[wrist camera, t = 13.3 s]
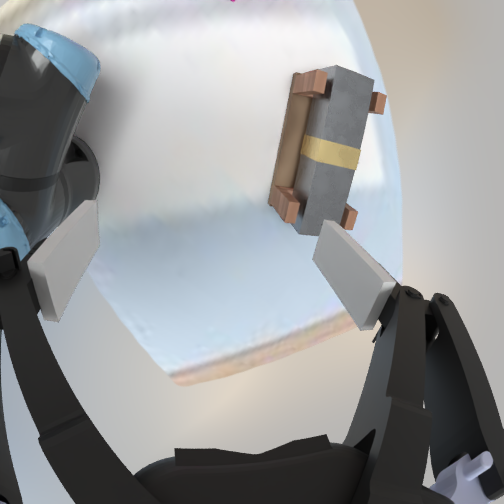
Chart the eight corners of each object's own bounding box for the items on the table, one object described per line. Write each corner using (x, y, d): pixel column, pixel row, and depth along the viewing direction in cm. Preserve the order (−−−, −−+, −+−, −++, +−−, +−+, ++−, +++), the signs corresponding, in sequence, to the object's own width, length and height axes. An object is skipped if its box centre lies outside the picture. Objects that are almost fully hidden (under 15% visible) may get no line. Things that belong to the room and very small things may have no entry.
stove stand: (267, 203, 46) (283, 225, 38) (293, 73, 36) (317, 65, 28) (326, 210, 48) (351, 233, 40) (354, 92, 38) (387, 92, 30)
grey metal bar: (320, 221, 45) (336, 238, 40) (285, 217, 44) (298, 234, 38) (353, 81, 34) (375, 80, 29) (317, 69, 33) (336, 64, 28)
